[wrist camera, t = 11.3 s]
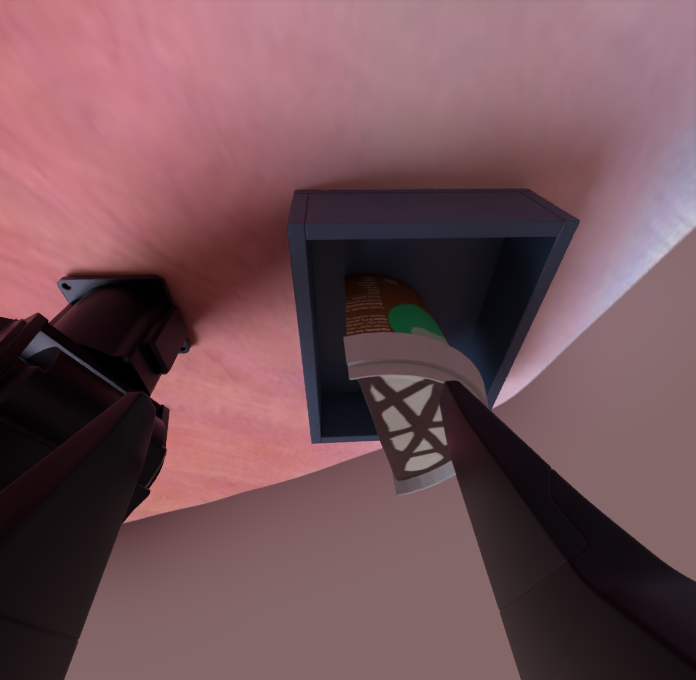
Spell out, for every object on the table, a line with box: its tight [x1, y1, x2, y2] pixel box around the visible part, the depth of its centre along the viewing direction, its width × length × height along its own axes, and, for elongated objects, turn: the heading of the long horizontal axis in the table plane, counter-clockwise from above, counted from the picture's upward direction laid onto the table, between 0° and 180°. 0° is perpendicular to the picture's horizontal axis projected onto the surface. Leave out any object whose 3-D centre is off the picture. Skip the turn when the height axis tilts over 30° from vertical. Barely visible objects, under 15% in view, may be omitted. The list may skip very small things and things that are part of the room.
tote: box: [287, 189, 580, 444], centre depth 22 cm, size 14×18×5 cm
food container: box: [343, 273, 489, 496], centre depth 20 cm, size 12×6×10 cm, turn 16°
